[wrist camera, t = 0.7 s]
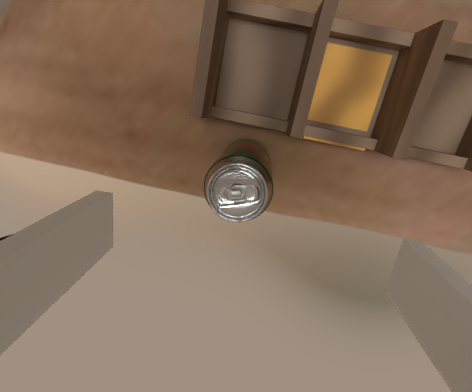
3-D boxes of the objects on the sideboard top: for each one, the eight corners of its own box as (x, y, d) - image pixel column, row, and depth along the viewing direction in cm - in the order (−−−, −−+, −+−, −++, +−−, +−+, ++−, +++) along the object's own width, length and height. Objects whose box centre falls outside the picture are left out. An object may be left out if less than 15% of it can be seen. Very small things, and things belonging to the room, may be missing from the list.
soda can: (222, 138, 30) (198, 157, 19) (269, 137, 30) (274, 156, 18) (224, 184, 32) (202, 227, 20) (269, 184, 31) (273, 228, 20)
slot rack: (204, 116, 30) (189, 118, 24) (221, 5, 27) (208, -26, 20) (455, 167, 29) (508, 184, 23) (503, 60, 26) (580, 45, 20)
